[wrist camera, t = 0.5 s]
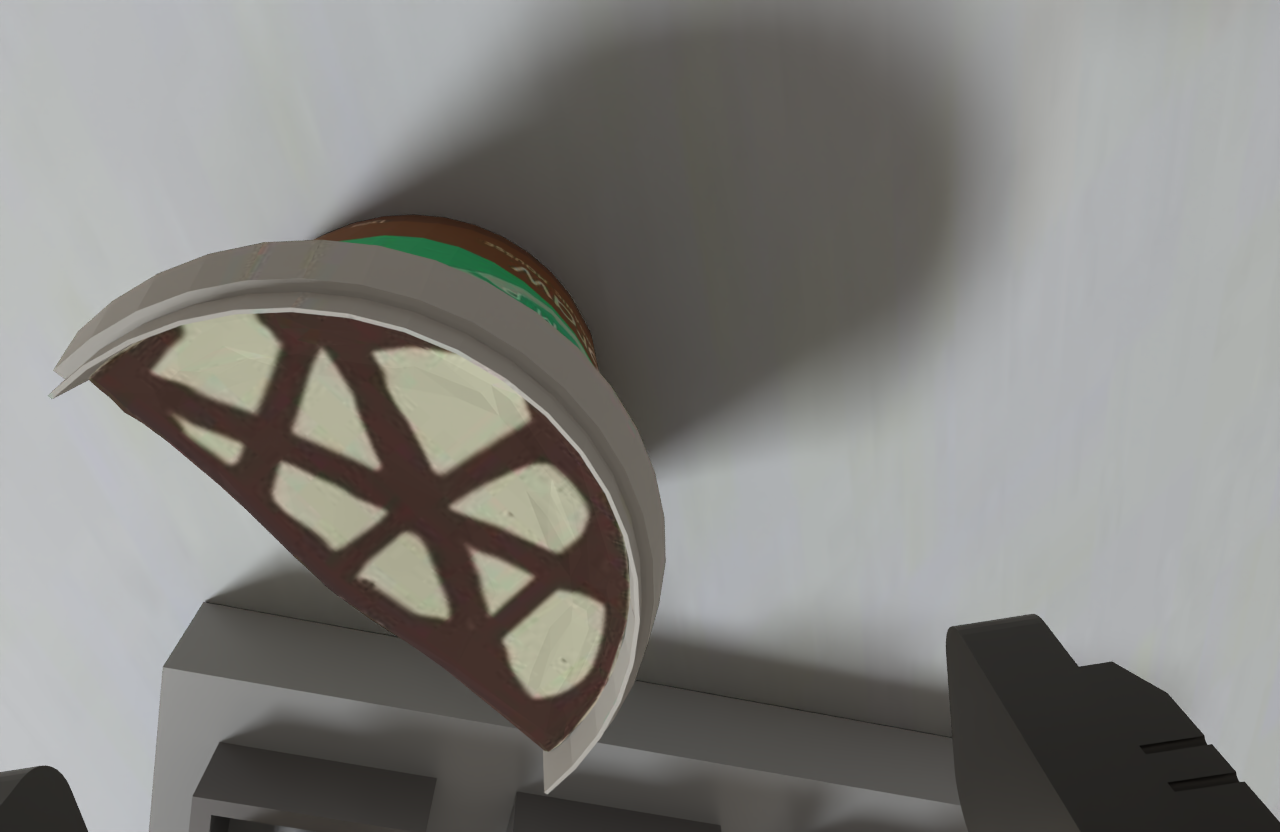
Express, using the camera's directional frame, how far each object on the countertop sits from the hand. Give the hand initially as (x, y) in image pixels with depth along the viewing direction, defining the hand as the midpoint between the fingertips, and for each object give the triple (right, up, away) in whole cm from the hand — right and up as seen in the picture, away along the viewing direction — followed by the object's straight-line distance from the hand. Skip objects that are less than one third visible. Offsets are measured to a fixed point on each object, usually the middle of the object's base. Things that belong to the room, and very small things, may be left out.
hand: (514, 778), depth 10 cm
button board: (-1, -11, +25) cm, 27 cm away
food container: (-2, +6, +18) cm, 19 cm away
